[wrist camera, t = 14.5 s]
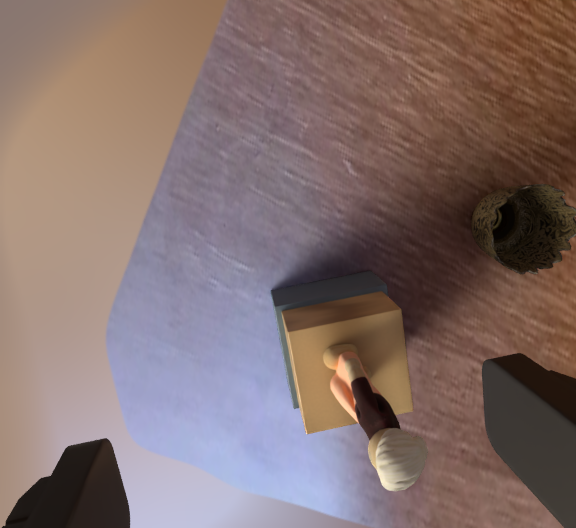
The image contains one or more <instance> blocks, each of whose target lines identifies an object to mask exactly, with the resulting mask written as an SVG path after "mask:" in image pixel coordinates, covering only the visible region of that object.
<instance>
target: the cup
mask: <svg viewBox="0 0 576 528" xmlns="http://www.w3.org/2000/svg"><path fill="white" fill-rule="evenodd" d="M563 195H565V193H564V192H563V191H562V190H559V189H554V187H553V186H551V185H547V184H536V185H523V186H512V187H506V188H501V189H498V190H496V191H493V192H491V193H490V194H488V195H487V196H485V197H484V198H483V199H482V200H481V201H480V202H479V204H478V205H477V206H476V208H475V209H474V211H473V213H472V218H471V230H472V234H473V237H474V239H475V241H476V243H477V244H478V246H479V247H480V248H481V249H482V250H483V251H484V252H485V253H486V254H488V255H489V256H491V257H492V258H493V259H495V260H496V261H498V262H499V263H501V264H502V265H503V266H505V267H507V268H508V269H511V270H513V271H515V272H516V273H519V274H525V272H530V273H533V274H538V270H537V268H538V269H548V268H552V267H553V265H552V264H553V263H557V262H561V261H562V255H561V253H560V252H559V251H562V250H570V249H571V245H570V243H569V242H568V241H569V239H570V238H572V237H574V236H575V235H576V221H575V219H574V217H575V216H576V208H574V207H571V206H567V205H566V203H565V201H566V200H565V199H563V198H562V197H561V196H563Z"/></svg>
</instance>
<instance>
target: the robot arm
mask: <svg viewBox="0 0 576 528" xmlns="http://www.w3.org/2000/svg"><path fill="white" fill-rule="evenodd" d="M482 381H483V398H484V414H485V426H486V431H487V435H488V438H489V440H490V442H491V445H492V446H493V448H494V450H495V451H496V453H497V454H498V455H499V456H500V457H501V459H502V460H503V461H504V462H505V463H506V464H507V465H508V466H509V467H510V468H511V470H512V471H513V472H514V473H515V474H516V475H517V476H518V477H519V478H520V479H521V481H522V482H523V483H524V484H525V485H526V486H527V487H528V488H529V489H530V490H531V492H532V493H533V494H534V495H535V496H536V497H537V498H538V499H539V500H540V502H541V503H542V504H543V505H544V506H545V507H546V508H547V509H548V510H549V511H550V513H551V514H552V515H553V516H554V517H555V518H556V519H557V520H558V521H559V522H560V524H561V525H562V526H563V527H564V528H576V379H575V378H572V377H569V376H566V375H563V374H561V373H558V372H555V371H552V370H550V371H548V370H546V369H545V368H543V367H542V366H540V365H539V364H537V363H536V362H534V361H533V360H531V359H530V358H528V357H527V356H525V355H523V354H521V353H517V354H512V355H507V356H503V357H498V358H493V359H488V360H485V361H484V363H483V366H482ZM2 528H130V511H129V505H128V500H127V497H126V493H125V490H124V486H123V482H122V479H121V475H120V471H119V468H118V464H117V461H116V457H115V454H114V450H113V447H112V444H111V443H110V441H109V440H108V439H107V438H105V439H100V440H95V441H90V442H85V443H81V444H76V445H71V446H68V447H67V448H66V449H65V451H64V452H63V454H62V456H61V458H60V460H59V462H58V463H57V465H56V467H55V469H54V471H53V473H52V475H51V476H49V477H44V478H41V479H39V480H38V481H37V482H36V484H34V485H33V486H32V487H31V488H30V489H29V490H28V491H27V492H26V493H25V494H24V495H23V496H22V497H21V498H20V499H19V500H18V502H17V503H16V505H15V507H14V508H13V510H12V512H11V513H10V515H9V517H8V518H7V520H6V525H5V526H3V527H2Z"/></svg>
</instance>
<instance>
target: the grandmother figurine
mask: <svg viewBox="0 0 576 528" xmlns="http://www.w3.org/2000/svg"><path fill="white" fill-rule="evenodd" d="M323 359H324V363H325V365H326V366H327V367H328V368H330V369H333V370H336V374H335V375H334V376H333V377H332V379H331V382H330V387H331V390H332V392H333V394H334V395H335V397H336V399H337V400H338V401H339V403H340V404H341V405H342V406H343V408H344V409H345V410H346V411H347V412H348V413H349V414H350V415H351V416H352V417H353V418H354V419H355V420H356V421H357V422H358V423H359V424H360V425H361V427H362V428H363V429H364V431H365V432H366V434H367V436H368V438H369V440H370V442H369V446H368V453H369V458H370V461H371V463H372V464H373V466H374V467H375V468H376V469H377V472H378V475H379V477H380V481H381V484H382V485H383V487H384V488H386V489H387V490H391V491H399V490H403V489H406V488H408V487H410V486H411V485H412V484H414V483H415V482H416V480H417V479H418V478H419V476H420V475H421V473H422V471H423V469H424V465H425V460H426V458H427V453H428V449H427V446H426V443H425V441H424V439H423V438H421V437H419V436H416V437H412V436H411V435H410V434H409V433H408V432H405V431H403V430H401V429H400V425H399V422H398V420H397V418H396V416H395V414H394V411H393V409H392V407H391V406H390V404H389V403H388V401H387V400H386V399H385V398H384V397H383V396H382V394H381V393H380V392H379V391H378V390H377V389H376V388H375V387H374V386H373V384H372V382H371V381H370V379H371V372H370V370H369V369H368V367H366V366H364V365H362V364H361V361H360V359H359V357H358V350H357V348H356V346H355V345H353V344H341V345H334V346H330V347H329V348H327V349H326V350H325V352H324V355H323Z"/></svg>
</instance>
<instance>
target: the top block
mask: <svg viewBox="0 0 576 528" xmlns="http://www.w3.org/2000/svg"><path fill="white" fill-rule="evenodd" d="M282 318H283V323H284V329H285V334H286V339H287V345H288V350H289V355H290V361H291V366H292V372H293V377H294V382H295V388H296V393H297V398H298V404H299V407H300V411H301V415H302V419H303V423H304V427H305V431H306V434H310V433H315V432H319V431H324V430H329V429H333V428H338V427H342V426H347V425H351V424H356V423H358V422H357V421H356V420H355V419H354V418H353V417H352V416H351V415H350V414H349V413H348V412H347V411H346V410H345V409H344V408H343V406H342V405H341V404H340V403H339V401H338V400H337V399H336V397H335V395H334V394H333V392H332V390H331V387H330V382H331V379H332V377H333V376H334V375H335V374H336V370H333V369H330V368H328V367H327V366H326V365H325V363H324V359H323V355H324V352H325V350H326V349H327V348H329V347H330V346H334V345H341V344H353V345H355V346H356V348H357V350H358V357H359V359H360V361H361V364H362V365H364V366H366V367H368V369H369V370H370V372H371V379H370V381H371V382H372V384H373V386H374V387H375V388H376V389H377V390H378V391H379V392H380V393H381V394H382V396H383V397H384V398H385V399H386V400H387V401H388V403H389V404H390V406H391V407H392V409H393V411H394V414H395V415H397V414H401V413H406V412H411V411H413V403H412V395H411V387H410V378H409V370H408V362H407V353H406V345H405V337H404V328H403V320H402V312H401V308H399V307H398V306H397V305H396V304H395V303H394V302H393V301H392V300H391V299H390V298H389V297H388V296H387V295H386V294H385V293H383V292H382V291H379V292H374V293H370V294H365V295H360V296H355V297H350V298H345V299H340V300H335V301H330V302H325V303H320V304H315V305H310V306H305V307H300V308H295V309H290V310H285V311H282Z"/></svg>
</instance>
